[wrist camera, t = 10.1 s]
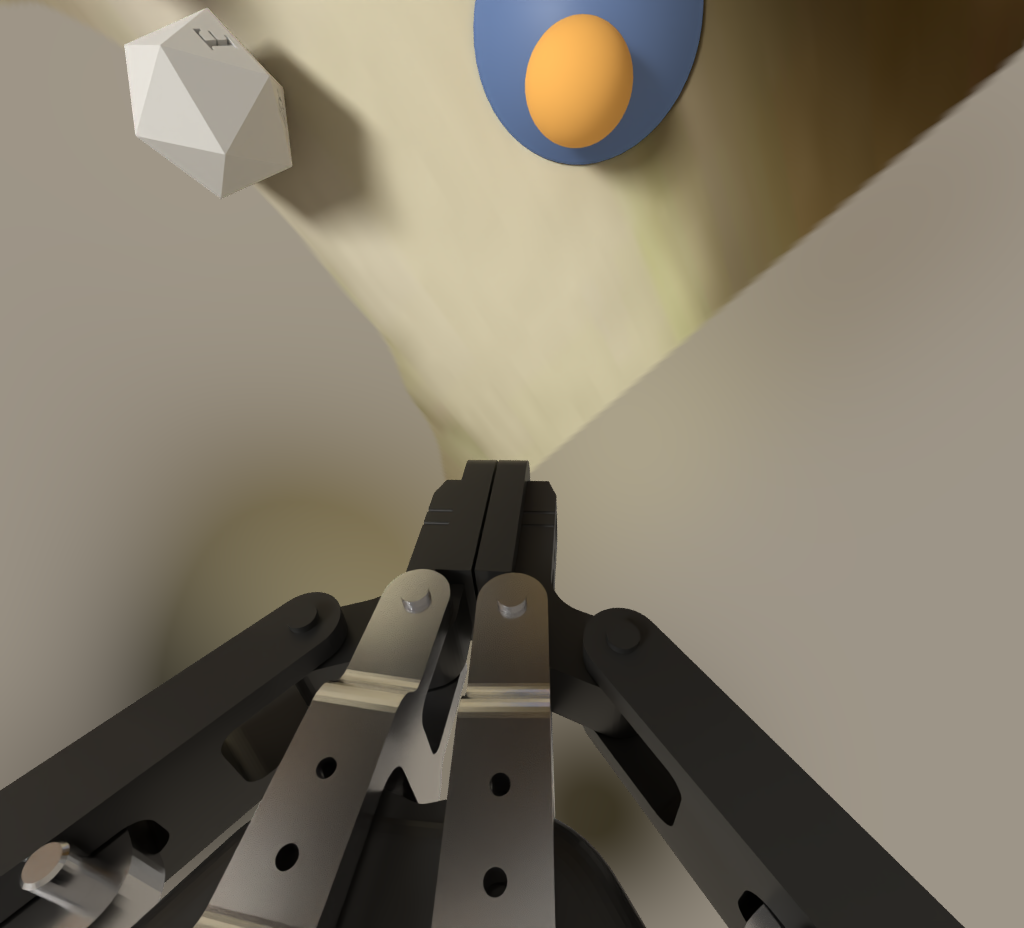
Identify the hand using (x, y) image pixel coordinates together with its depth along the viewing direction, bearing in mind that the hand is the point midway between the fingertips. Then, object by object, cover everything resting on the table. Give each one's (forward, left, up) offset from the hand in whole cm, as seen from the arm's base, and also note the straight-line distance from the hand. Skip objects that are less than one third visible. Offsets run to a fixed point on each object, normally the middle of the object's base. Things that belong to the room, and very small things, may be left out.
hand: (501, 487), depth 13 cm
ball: (-8, +2, -26) cm, 27 cm away
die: (-8, -20, -29) cm, 36 cm away
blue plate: (-10, +2, -29) cm, 31 cm away
